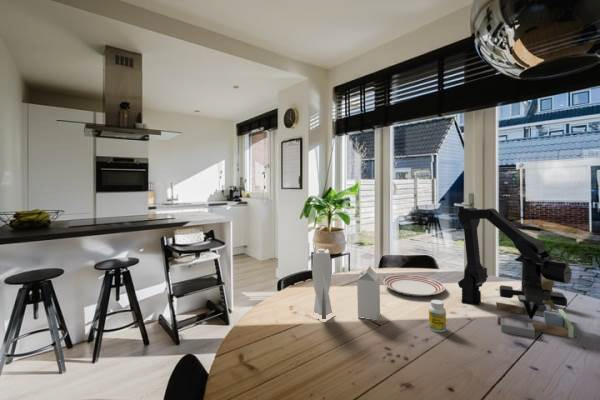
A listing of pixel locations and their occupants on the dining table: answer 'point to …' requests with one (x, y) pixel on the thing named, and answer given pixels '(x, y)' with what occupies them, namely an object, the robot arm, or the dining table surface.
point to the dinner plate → (414, 285)
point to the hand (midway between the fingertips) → (530, 318)
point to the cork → (548, 285)
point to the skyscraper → (322, 281)
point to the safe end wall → (566, 323)
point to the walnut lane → (537, 326)
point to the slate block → (553, 318)
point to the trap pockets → (530, 330)
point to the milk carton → (368, 294)
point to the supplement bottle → (437, 316)
